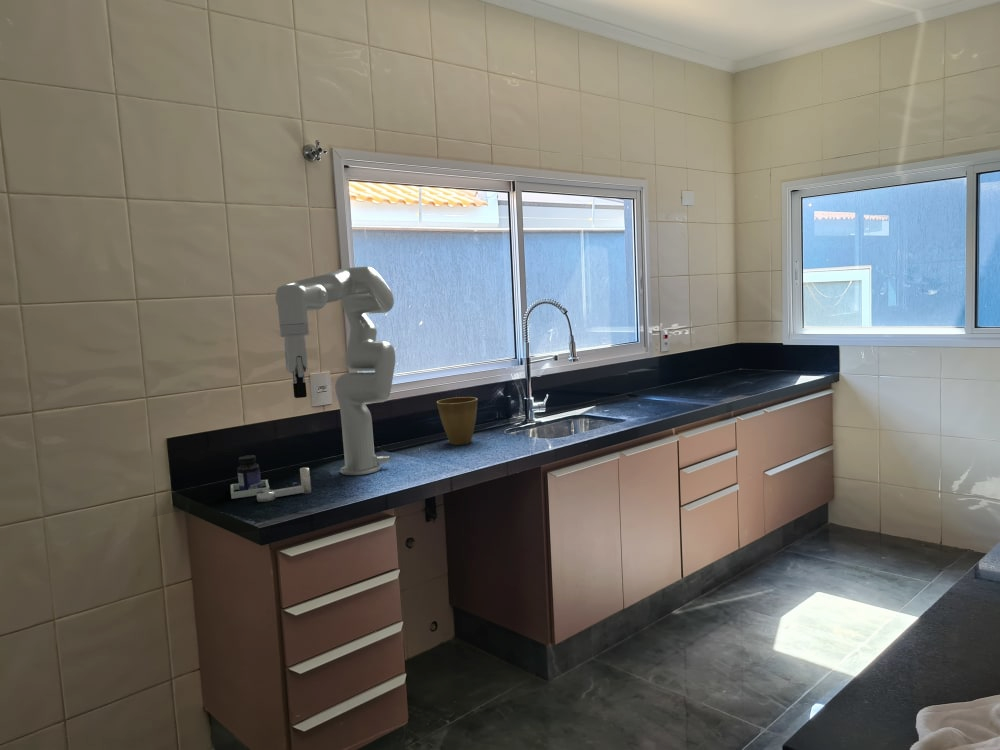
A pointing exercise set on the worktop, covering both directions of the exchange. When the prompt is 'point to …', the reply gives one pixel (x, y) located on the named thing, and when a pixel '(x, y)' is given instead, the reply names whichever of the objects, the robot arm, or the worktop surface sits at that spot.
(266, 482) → the pale green square frame
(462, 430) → the plant pot
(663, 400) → the worktop surface
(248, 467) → the pill bottle
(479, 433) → the worktop surface
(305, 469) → the crank
